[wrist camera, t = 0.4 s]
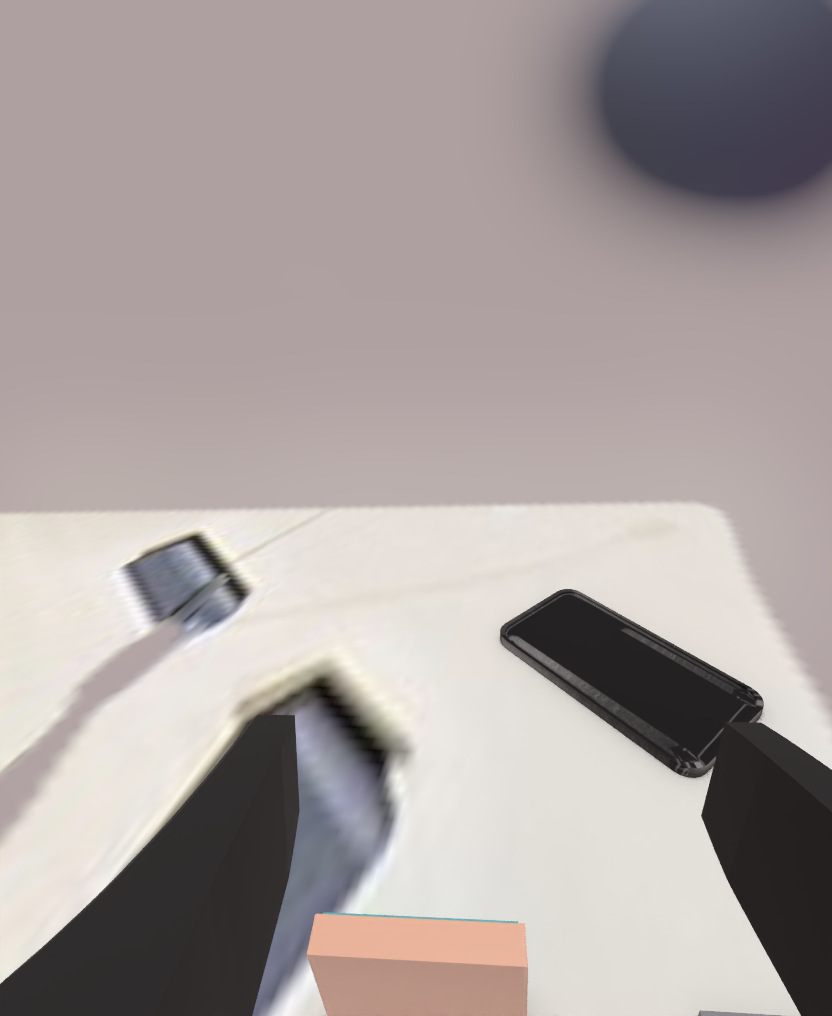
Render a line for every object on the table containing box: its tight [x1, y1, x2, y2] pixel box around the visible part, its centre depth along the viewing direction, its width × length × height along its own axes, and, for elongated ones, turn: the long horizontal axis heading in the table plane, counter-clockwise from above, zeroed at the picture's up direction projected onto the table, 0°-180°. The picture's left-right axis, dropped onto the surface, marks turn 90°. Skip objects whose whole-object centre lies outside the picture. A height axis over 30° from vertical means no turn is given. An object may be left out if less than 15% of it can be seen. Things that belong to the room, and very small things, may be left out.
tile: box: [307, 912, 528, 1016], centre depth 20 cm, size 1×7×7 cm, turn 85°
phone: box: [500, 589, 764, 778], centre depth 37 cm, size 8×1×15 cm
